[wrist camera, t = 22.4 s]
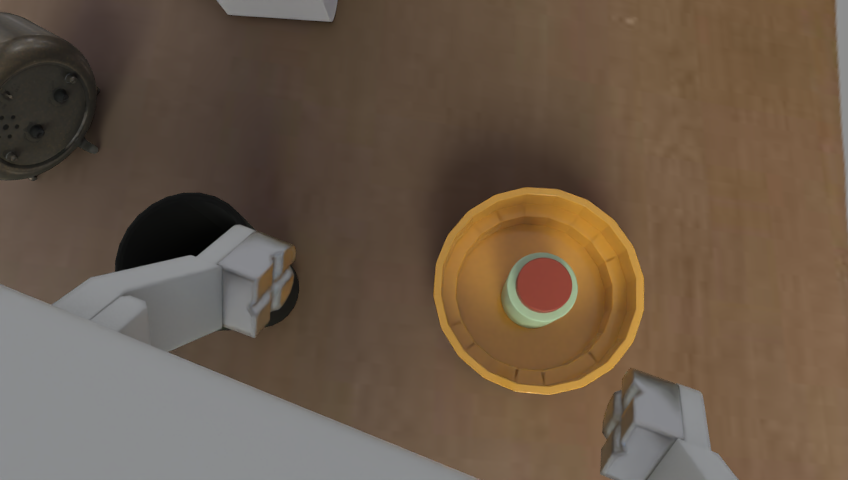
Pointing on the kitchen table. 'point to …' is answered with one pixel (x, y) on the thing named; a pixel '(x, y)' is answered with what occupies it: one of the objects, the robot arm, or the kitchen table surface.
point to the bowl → (561, 339)
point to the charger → (282, 9)
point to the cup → (185, 236)
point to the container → (539, 290)
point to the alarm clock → (41, 99)
